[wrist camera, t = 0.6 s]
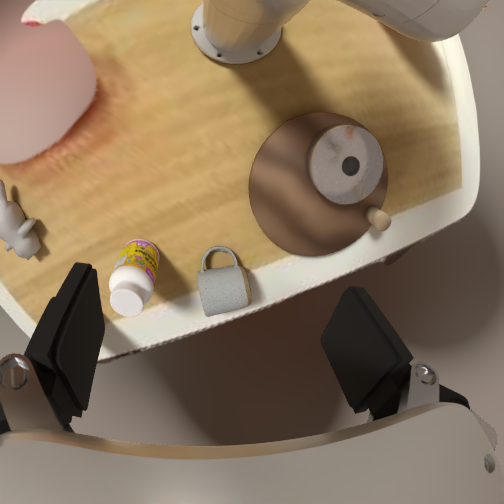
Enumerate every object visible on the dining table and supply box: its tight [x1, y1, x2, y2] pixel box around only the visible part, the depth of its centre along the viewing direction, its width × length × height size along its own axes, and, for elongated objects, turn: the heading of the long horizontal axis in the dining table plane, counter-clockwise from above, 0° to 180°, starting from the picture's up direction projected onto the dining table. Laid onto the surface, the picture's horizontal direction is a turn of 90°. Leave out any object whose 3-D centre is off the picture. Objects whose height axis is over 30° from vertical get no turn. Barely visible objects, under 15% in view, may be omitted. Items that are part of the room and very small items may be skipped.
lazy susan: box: [249, 112, 391, 256], centre depth 40 cm, size 24×24×6 cm
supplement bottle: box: [109, 239, 160, 317], centre depth 38 cm, size 7×7×13 cm
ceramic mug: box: [197, 246, 252, 317], centre depth 45 cm, size 11×8×8 cm
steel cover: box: [305, 124, 383, 204], centre depth 38 cm, size 12×12×3 cm
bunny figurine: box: [0, 180, 41, 260], centre depth 33 cm, size 9×5×15 cm
